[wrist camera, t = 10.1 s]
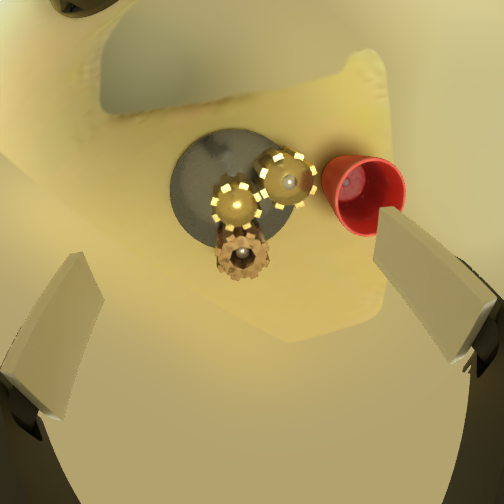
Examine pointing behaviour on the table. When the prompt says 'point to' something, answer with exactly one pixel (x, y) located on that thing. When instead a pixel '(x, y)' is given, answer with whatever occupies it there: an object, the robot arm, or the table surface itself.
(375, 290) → the table surface
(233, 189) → the carrier
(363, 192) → the flower pot
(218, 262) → the gear
